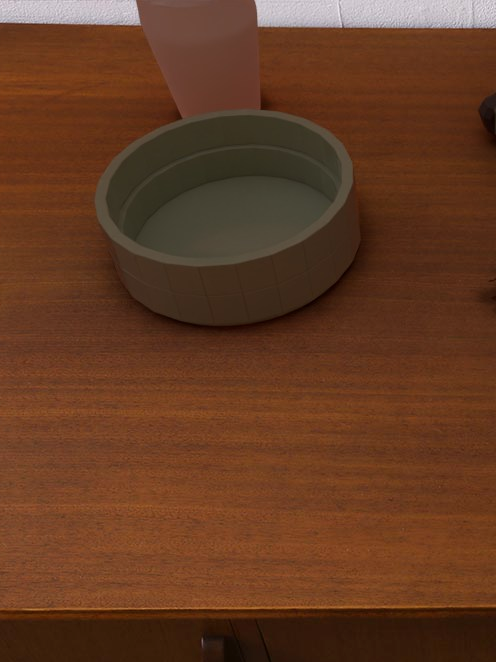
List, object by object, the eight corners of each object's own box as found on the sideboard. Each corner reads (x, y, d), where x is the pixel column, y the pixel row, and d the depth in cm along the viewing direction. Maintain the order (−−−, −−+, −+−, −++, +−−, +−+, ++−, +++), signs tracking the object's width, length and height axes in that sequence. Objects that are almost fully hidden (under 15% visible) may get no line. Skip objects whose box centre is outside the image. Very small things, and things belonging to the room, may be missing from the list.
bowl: (77, 316, 69) (49, 250, 65) (171, 163, 81) (153, 99, 77) (326, 343, 68) (314, 278, 63) (384, 184, 80) (378, 120, 75)
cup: (289, 89, 89) (266, -42, 80) (253, 148, 83) (224, 14, 74) (192, 78, 90) (159, -52, 81) (150, 136, 84) (109, 2, 75)
